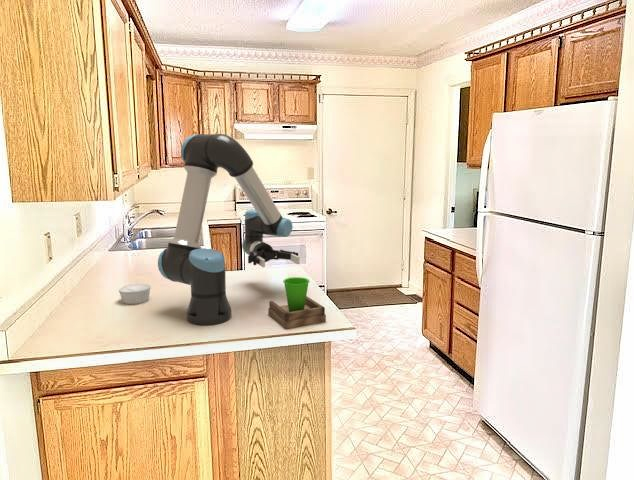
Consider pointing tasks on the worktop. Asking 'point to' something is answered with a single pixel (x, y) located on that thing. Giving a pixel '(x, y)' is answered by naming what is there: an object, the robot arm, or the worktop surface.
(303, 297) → the cup
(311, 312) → the wooden tray
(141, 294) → the ramekin
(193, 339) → the worktop surface
